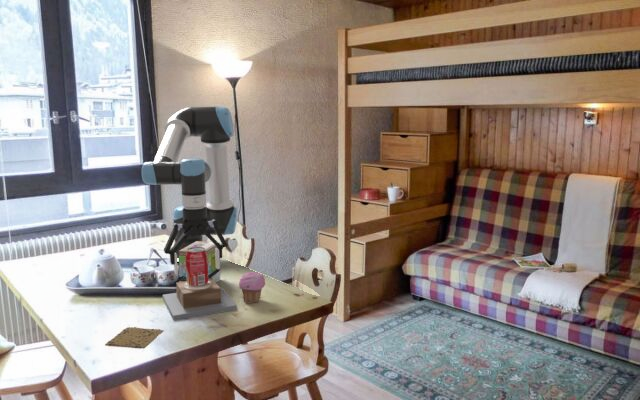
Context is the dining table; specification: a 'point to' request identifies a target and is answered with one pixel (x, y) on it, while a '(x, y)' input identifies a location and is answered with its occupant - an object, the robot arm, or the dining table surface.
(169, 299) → the base board
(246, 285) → the cupcake
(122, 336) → the brown flat square slab
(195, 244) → the tea box
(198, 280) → the soda can
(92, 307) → the dining table surface
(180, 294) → the block
